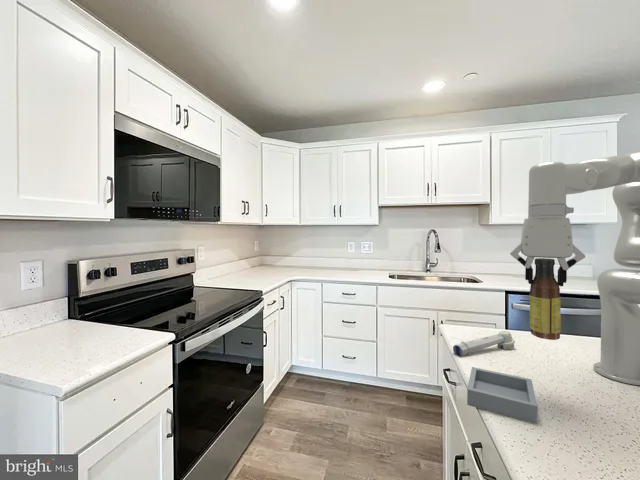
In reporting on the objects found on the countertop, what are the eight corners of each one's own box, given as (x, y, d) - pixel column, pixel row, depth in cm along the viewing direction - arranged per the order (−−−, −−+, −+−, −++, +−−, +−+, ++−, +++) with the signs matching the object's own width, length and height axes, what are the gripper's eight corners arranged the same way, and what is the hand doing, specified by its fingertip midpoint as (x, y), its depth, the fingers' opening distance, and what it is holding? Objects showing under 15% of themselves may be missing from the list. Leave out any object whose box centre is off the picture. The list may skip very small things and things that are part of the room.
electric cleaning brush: (450, 342, 104) (504, 325, 111) (452, 360, 104) (506, 342, 112) (461, 347, 99) (517, 330, 106) (464, 366, 99) (519, 347, 107)
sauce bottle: (553, 333, 76) (556, 258, 76) (565, 342, 70) (568, 260, 70) (524, 330, 78) (527, 257, 78) (533, 339, 72) (536, 259, 72)
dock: (531, 394, 77) (531, 379, 77) (537, 424, 65) (537, 406, 65) (471, 380, 84) (471, 366, 84) (467, 405, 73) (467, 389, 72)
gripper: (587, 212, 72) (585, 285, 73) (505, 214, 81) (504, 279, 82) (596, 210, 66) (594, 290, 66) (506, 213, 75) (505, 283, 75)
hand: (545, 283), depth 74 cm, fingers closed on sauce bottle, 5 cm apart
